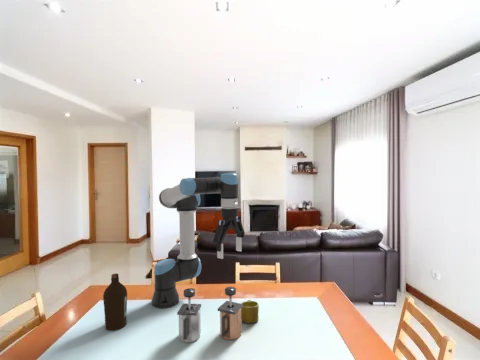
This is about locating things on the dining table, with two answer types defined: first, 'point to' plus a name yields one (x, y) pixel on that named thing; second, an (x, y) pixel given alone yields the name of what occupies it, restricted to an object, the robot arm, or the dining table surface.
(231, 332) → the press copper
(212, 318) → the dining table surface
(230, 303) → the plunger copper
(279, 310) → the dining table surface
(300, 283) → the dining table surface
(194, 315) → the plate
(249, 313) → the mug
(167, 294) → the robot arm
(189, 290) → the plunger steel
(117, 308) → the olive oil
